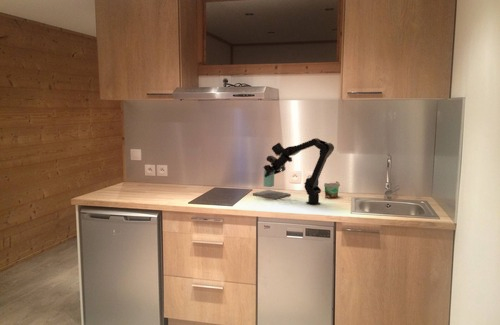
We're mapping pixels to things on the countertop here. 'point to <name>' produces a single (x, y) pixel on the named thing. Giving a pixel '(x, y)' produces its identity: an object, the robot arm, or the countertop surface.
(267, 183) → the block
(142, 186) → the countertop surface
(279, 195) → the mat
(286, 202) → the countertop surface
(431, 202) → the countertop surface
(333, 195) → the food container
